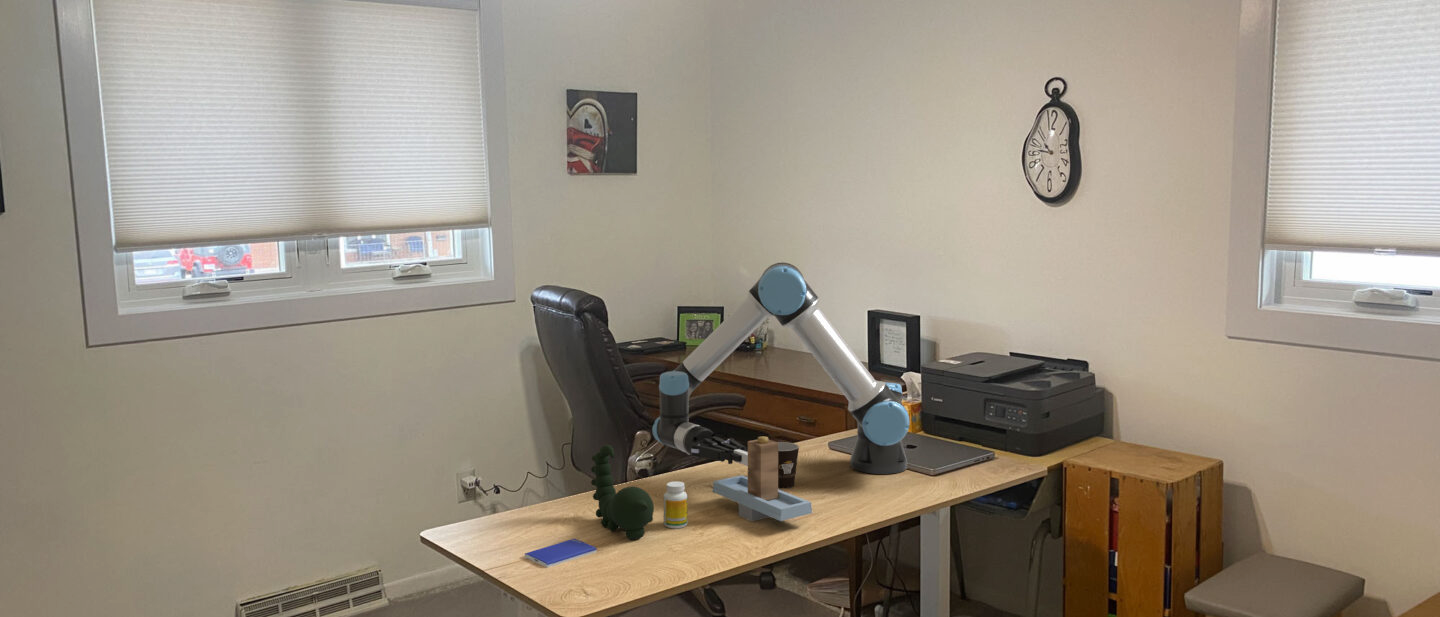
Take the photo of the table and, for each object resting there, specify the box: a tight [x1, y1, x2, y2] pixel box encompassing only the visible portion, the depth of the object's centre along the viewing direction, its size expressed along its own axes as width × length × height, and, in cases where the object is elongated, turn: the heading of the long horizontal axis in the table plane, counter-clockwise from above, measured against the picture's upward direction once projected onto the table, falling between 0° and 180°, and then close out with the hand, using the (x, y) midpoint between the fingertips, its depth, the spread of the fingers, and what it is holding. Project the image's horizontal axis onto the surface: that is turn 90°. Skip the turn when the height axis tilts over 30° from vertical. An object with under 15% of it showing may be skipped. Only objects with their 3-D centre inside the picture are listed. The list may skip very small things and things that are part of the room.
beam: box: [712, 474, 813, 522], centre depth 239 cm, size 26×9×6 cm, turn 35°
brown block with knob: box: [747, 436, 779, 500], centre depth 238 cm, size 5×5×14 cm
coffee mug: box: [777, 441, 800, 489], centre depth 262 cm, size 12×9×10 cm
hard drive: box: [524, 538, 598, 568], centre depth 215 cm, size 2×8×12 cm
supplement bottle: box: [663, 481, 688, 530], centre depth 232 cm, size 5×5×10 cm
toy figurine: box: [590, 444, 655, 541], centre depth 228 cm, size 9×19×25 cm
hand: (752, 461), depth 241 cm, fingers closed
